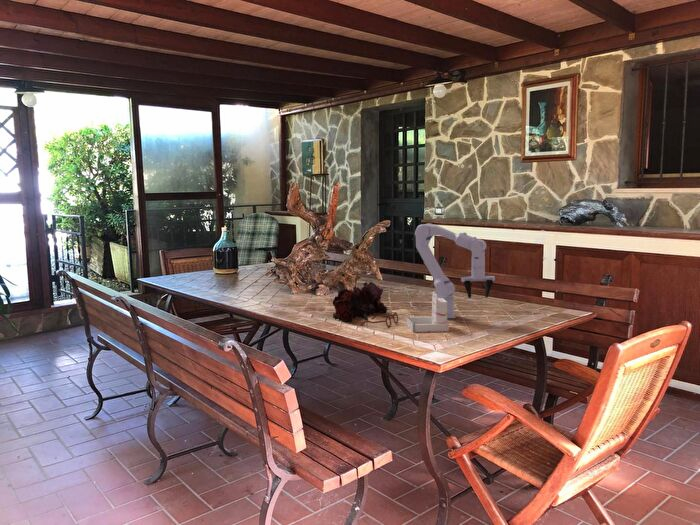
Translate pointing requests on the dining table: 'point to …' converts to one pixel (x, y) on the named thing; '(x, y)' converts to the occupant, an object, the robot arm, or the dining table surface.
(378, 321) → the glasses
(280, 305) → the dining table surface
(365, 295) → the flower arrangement
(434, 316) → the ink cartridge box
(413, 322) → the sorting bay
